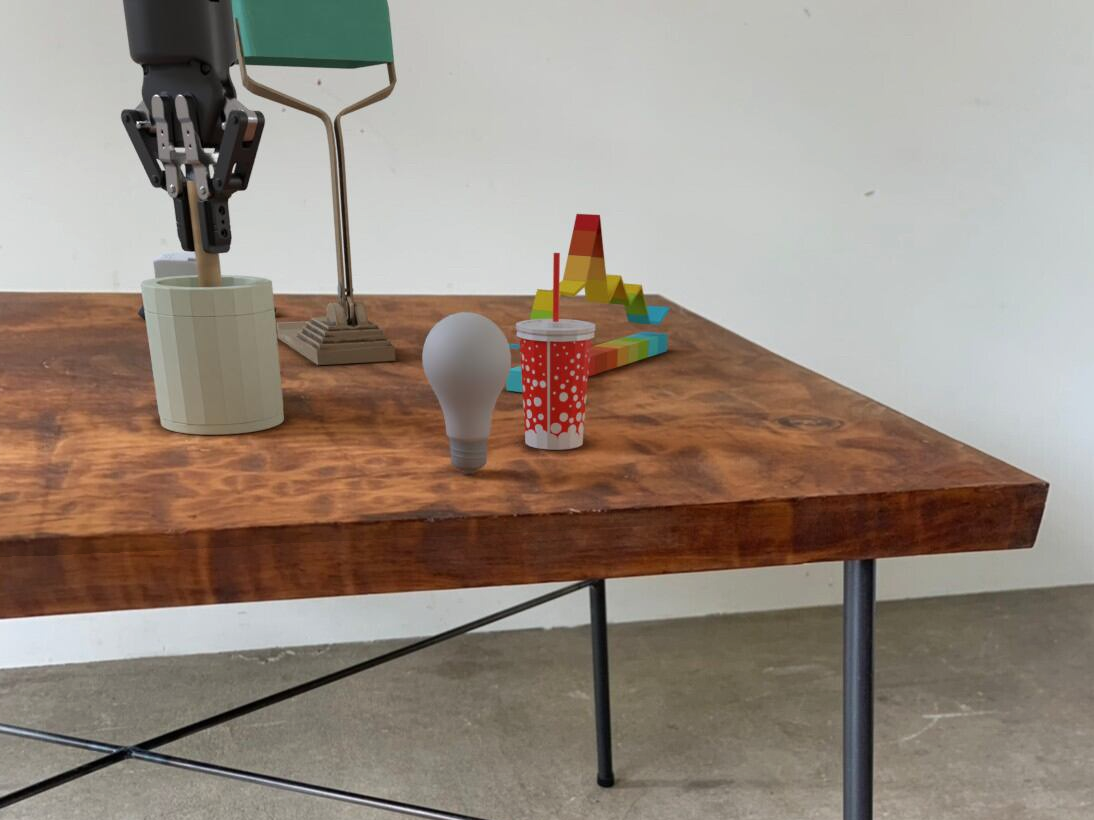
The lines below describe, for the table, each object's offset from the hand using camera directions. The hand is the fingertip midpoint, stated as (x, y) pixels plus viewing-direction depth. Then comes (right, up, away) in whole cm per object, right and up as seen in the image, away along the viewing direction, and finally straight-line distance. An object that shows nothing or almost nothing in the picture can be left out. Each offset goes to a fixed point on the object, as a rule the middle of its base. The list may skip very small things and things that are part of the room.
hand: (206, 251), depth 90 cm
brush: (0, -10, +5) cm, 11 cm away
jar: (-1, -11, +7) cm, 13 cm away
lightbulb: (+21, -19, -7) cm, 29 cm away
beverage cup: (+27, -15, +2) cm, 31 cm away
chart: (+31, +1, +32) cm, 45 cm away
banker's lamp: (+2, +6, +41) cm, 42 cm away
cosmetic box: (-5, -7, +15) cm, 17 cm away
